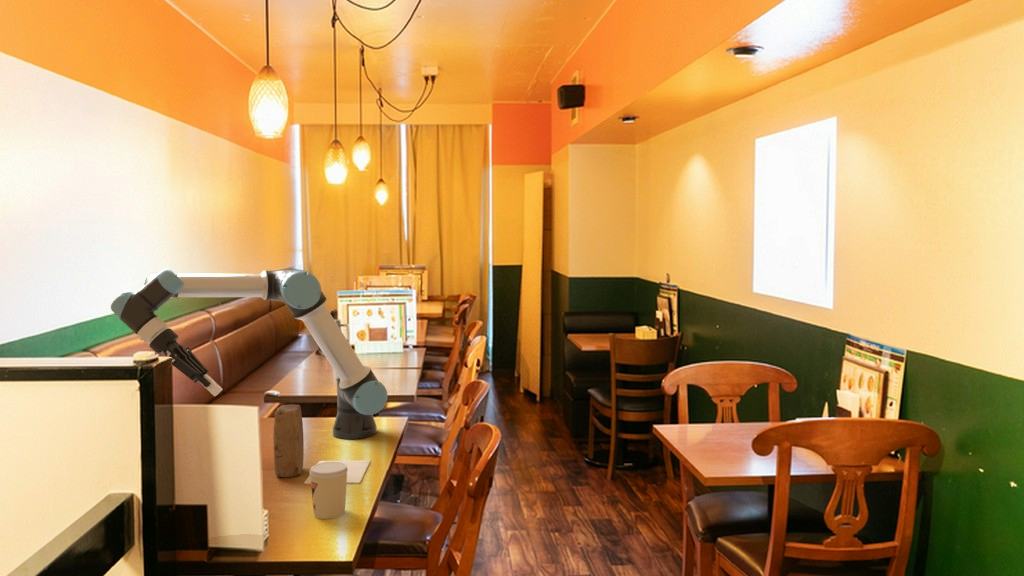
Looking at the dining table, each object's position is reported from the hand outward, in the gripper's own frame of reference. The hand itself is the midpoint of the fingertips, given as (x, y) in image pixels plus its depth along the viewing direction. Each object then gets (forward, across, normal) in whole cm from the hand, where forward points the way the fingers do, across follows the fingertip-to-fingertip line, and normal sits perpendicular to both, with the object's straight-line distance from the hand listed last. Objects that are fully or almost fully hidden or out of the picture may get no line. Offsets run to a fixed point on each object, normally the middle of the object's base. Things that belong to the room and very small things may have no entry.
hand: (218, 392), depth 222 cm
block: (+31, 0, -3) cm, 31 cm away
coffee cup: (+44, +32, +10) cm, 55 cm away
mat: (+41, 0, +7) cm, 42 cm away
